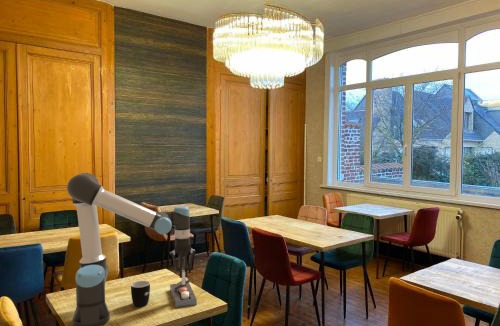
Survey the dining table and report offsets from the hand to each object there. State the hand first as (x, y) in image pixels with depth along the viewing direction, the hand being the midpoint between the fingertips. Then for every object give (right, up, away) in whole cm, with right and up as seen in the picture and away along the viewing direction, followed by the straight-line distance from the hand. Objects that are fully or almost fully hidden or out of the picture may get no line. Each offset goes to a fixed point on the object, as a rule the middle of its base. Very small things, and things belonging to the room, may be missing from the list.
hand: (183, 283), depth 189 cm
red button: (0, -5, 0) cm, 5 cm away
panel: (-1, -8, +3) cm, 8 cm away
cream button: (+2, -6, -6) cm, 8 cm away
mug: (-19, -8, -5) cm, 22 cm away
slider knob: (-2, -4, +13) cm, 14 cm away
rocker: (-2, -2, +6) cm, 6 cm away
